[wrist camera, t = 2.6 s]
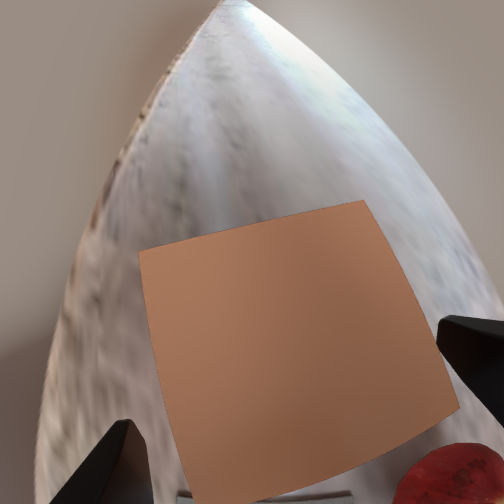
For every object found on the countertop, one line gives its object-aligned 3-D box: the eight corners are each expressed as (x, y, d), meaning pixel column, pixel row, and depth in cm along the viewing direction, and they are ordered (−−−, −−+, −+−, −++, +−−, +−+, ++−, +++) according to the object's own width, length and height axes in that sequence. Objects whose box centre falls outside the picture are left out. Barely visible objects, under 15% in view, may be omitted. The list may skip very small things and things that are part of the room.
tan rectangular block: (344, 421, 14) (459, 408, 6) (226, 458, 13) (198, 512, 5) (306, 315, 17) (363, 200, 9) (194, 346, 16) (138, 251, 8)
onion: (357, 531, 11) (428, 585, 4) (385, 440, 13) (477, 440, 7) (440, 526, 10) (527, 549, 3) (463, 443, 13) (559, 431, 6)
